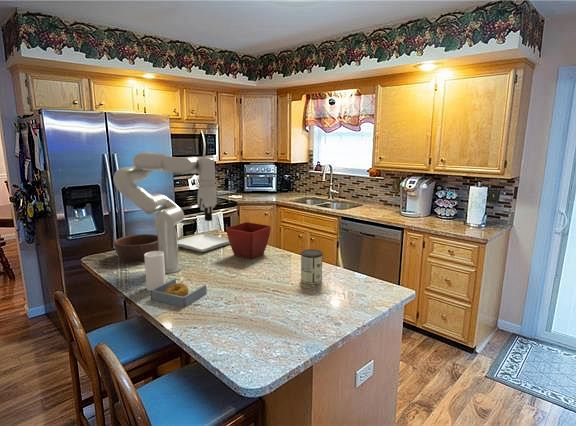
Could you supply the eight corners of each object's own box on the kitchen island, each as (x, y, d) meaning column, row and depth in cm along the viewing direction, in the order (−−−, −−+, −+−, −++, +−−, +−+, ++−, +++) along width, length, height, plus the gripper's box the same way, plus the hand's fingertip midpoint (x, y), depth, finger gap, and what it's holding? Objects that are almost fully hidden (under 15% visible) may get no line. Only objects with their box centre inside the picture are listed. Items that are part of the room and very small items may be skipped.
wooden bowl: (170, 256, 211) (169, 239, 209) (128, 267, 193) (126, 248, 191) (148, 248, 227) (147, 231, 225) (107, 257, 209) (106, 239, 207)
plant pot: (252, 262, 202) (251, 232, 199) (225, 256, 212) (225, 228, 209) (271, 253, 218) (271, 225, 215) (246, 248, 228) (246, 221, 225)
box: (150, 299, 154) (150, 290, 153) (174, 286, 167) (174, 278, 167) (184, 307, 147) (183, 297, 146) (206, 293, 160) (206, 284, 160)
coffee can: (305, 275, 183) (305, 248, 181) (324, 278, 179) (325, 250, 176) (297, 282, 174) (297, 253, 171) (317, 285, 170) (318, 256, 167)
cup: (169, 285, 169) (167, 252, 166) (157, 292, 162) (155, 257, 158) (154, 282, 172) (152, 250, 169) (142, 289, 164) (140, 255, 161)
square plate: (202, 255, 214) (202, 249, 214) (171, 247, 229) (171, 241, 228) (233, 244, 237) (233, 238, 236) (203, 238, 251) (203, 232, 251)
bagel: (159, 295, 158) (158, 285, 157) (184, 290, 164) (183, 280, 163) (166, 304, 150) (165, 293, 149) (192, 298, 156) (191, 287, 155)
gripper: (209, 181, 185) (211, 217, 189) (190, 184, 172) (192, 222, 175) (222, 182, 182) (223, 218, 186) (204, 185, 169) (205, 224, 172)
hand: (208, 220), depth 180 cm, fingers closed
